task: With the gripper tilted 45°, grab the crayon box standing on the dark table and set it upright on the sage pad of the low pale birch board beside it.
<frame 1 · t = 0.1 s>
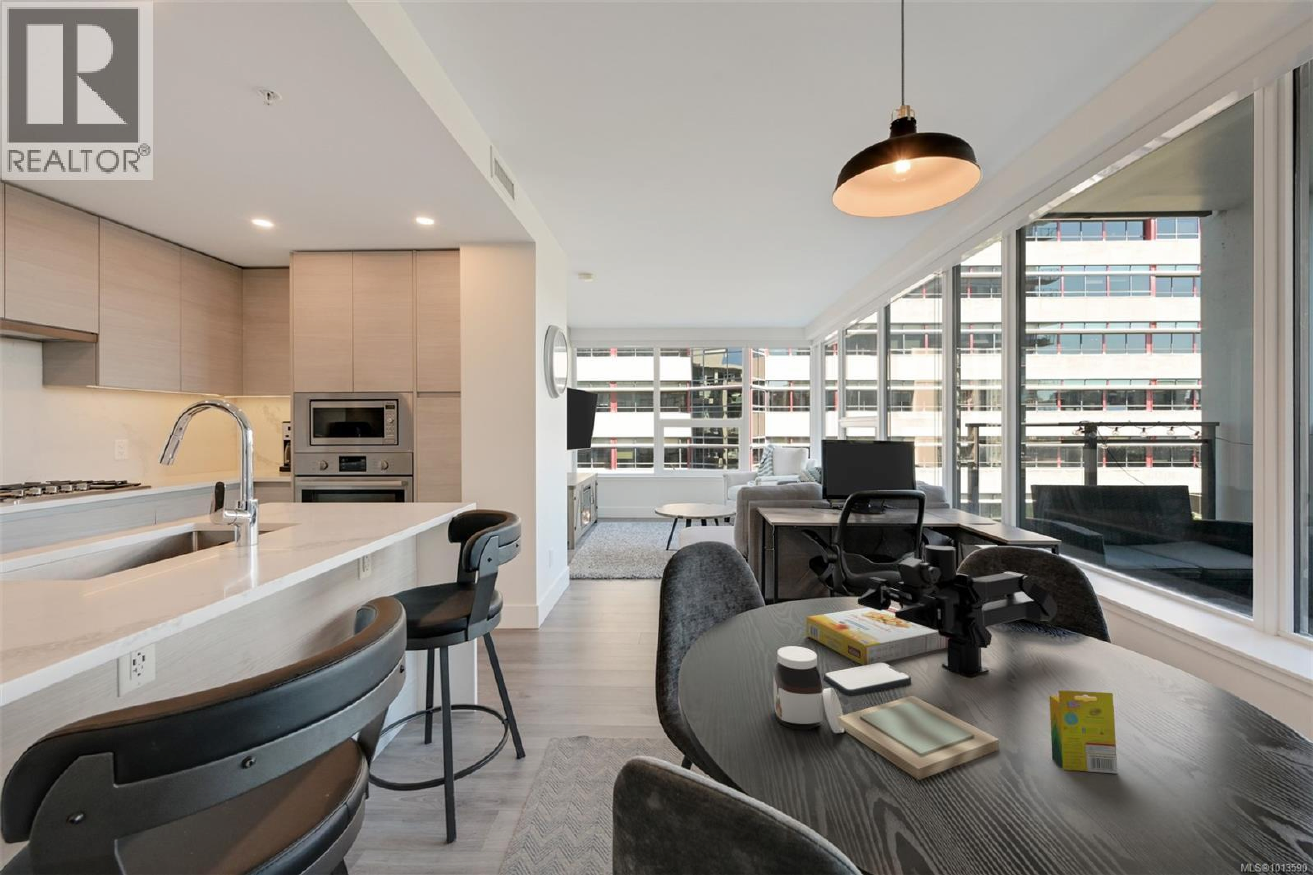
hand: (876, 607, 101), 17 cm above the table, tool horizontal, fingers open, 9 cm apart
crayon box: (1083, 768, 77), on the table
birch board: (915, 737, 85), on the table
phone case: (866, 683, 106), on the table
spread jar: (809, 723, 90), on the table, touching birch board
cereal box: (877, 643, 127), on the table
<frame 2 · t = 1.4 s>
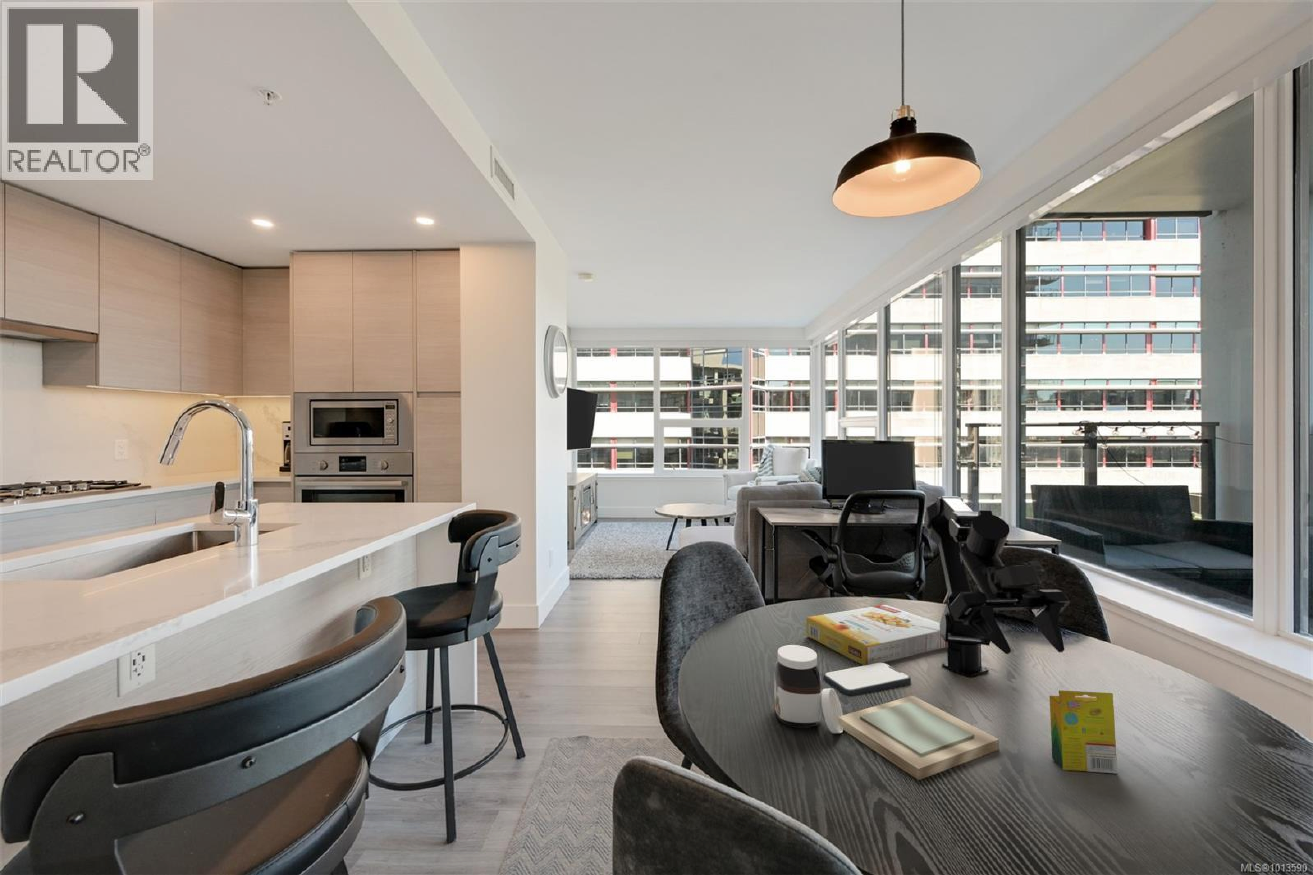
hand: (1035, 652, 85), 14 cm above the table, tool tilted 45°, fingers open, 9 cm apart
nothing on the table moved.
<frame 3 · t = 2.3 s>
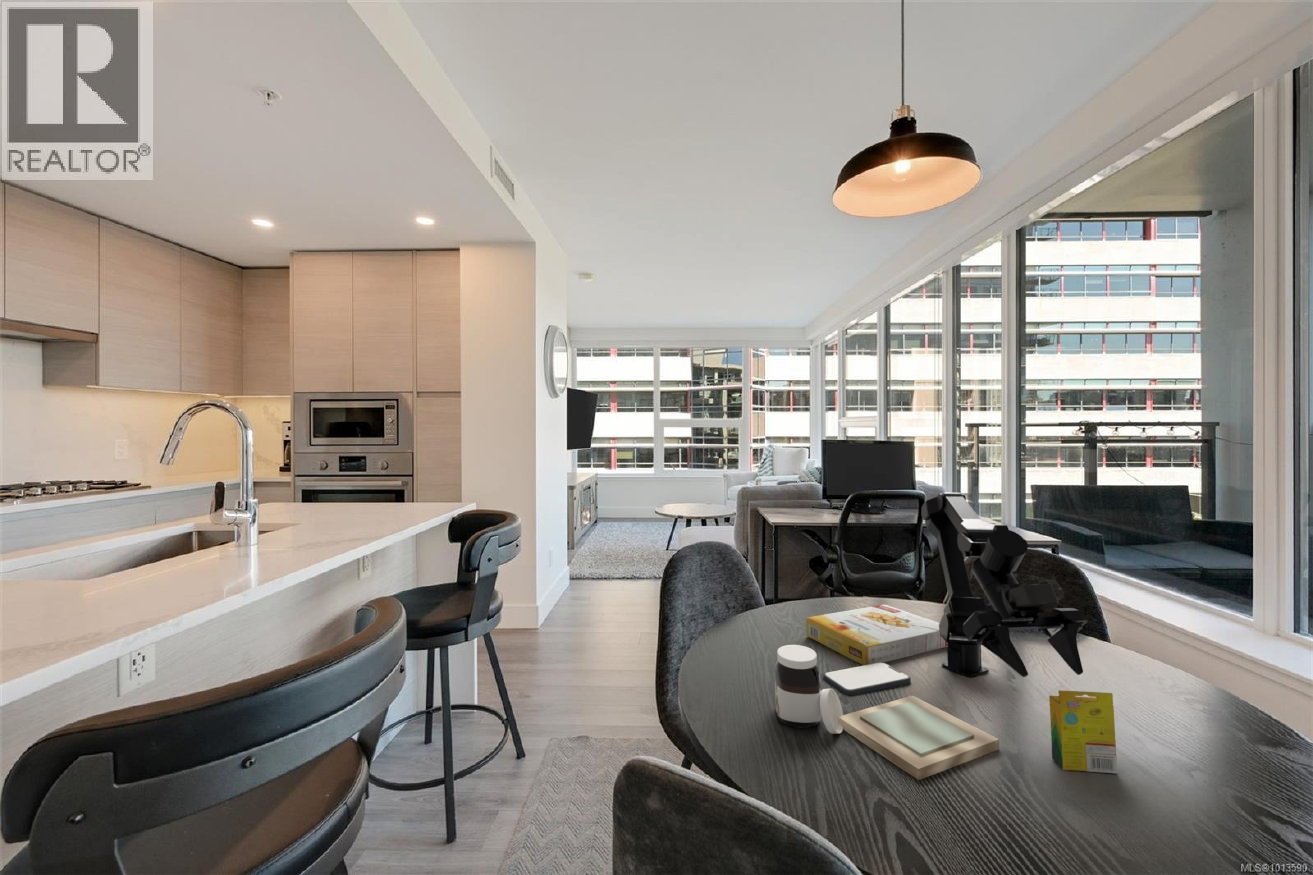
hand: (1053, 674, 82), 11 cm above the table, tool tilted 45°, fingers open, 9 cm apart
nothing on the table moved.
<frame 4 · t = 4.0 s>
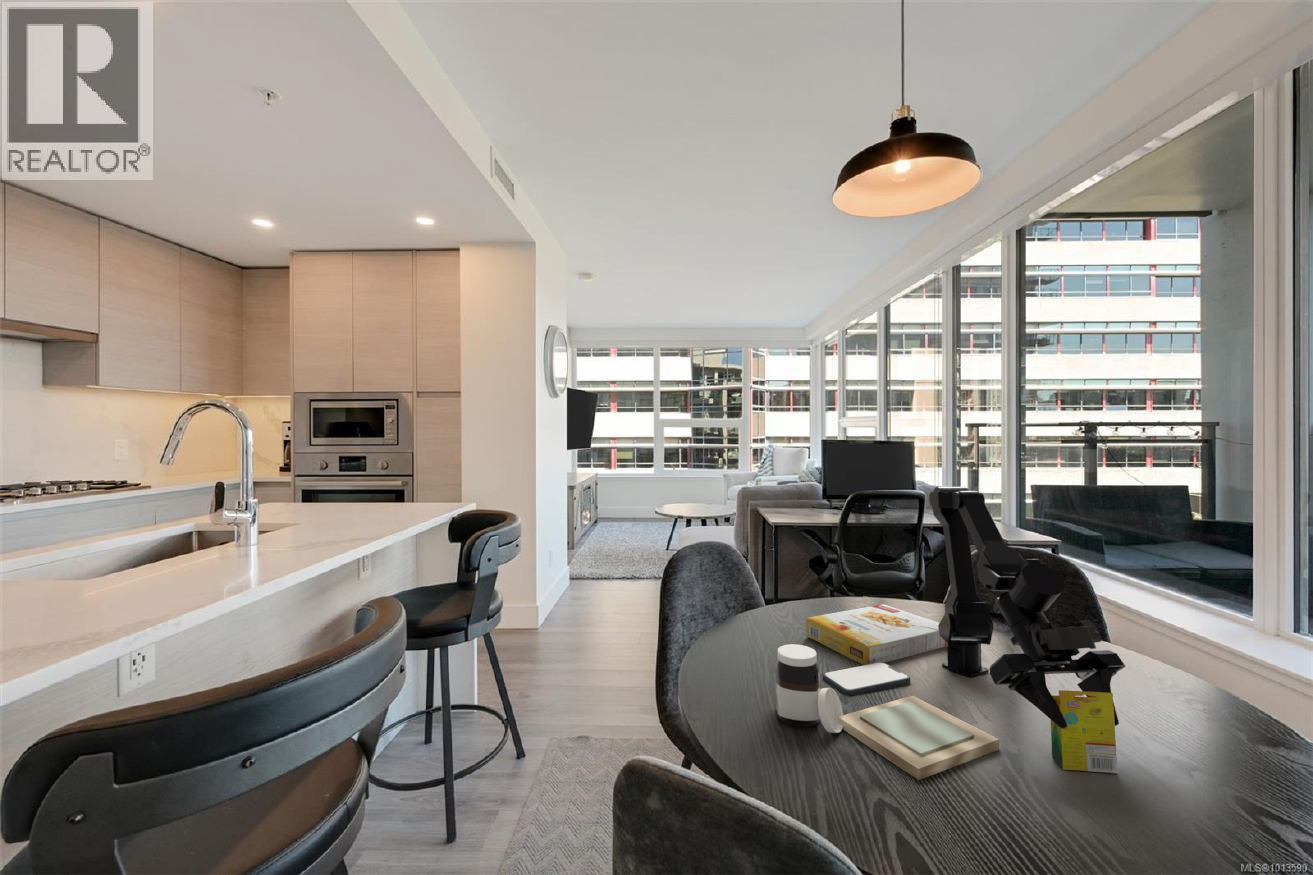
hand: (1090, 726, 76), 7 cm above the table, tool tilted 45°, fingers closed on crayon box, 8 cm apart
crayon box: (1083, 767, 77), on the table, touching gripper
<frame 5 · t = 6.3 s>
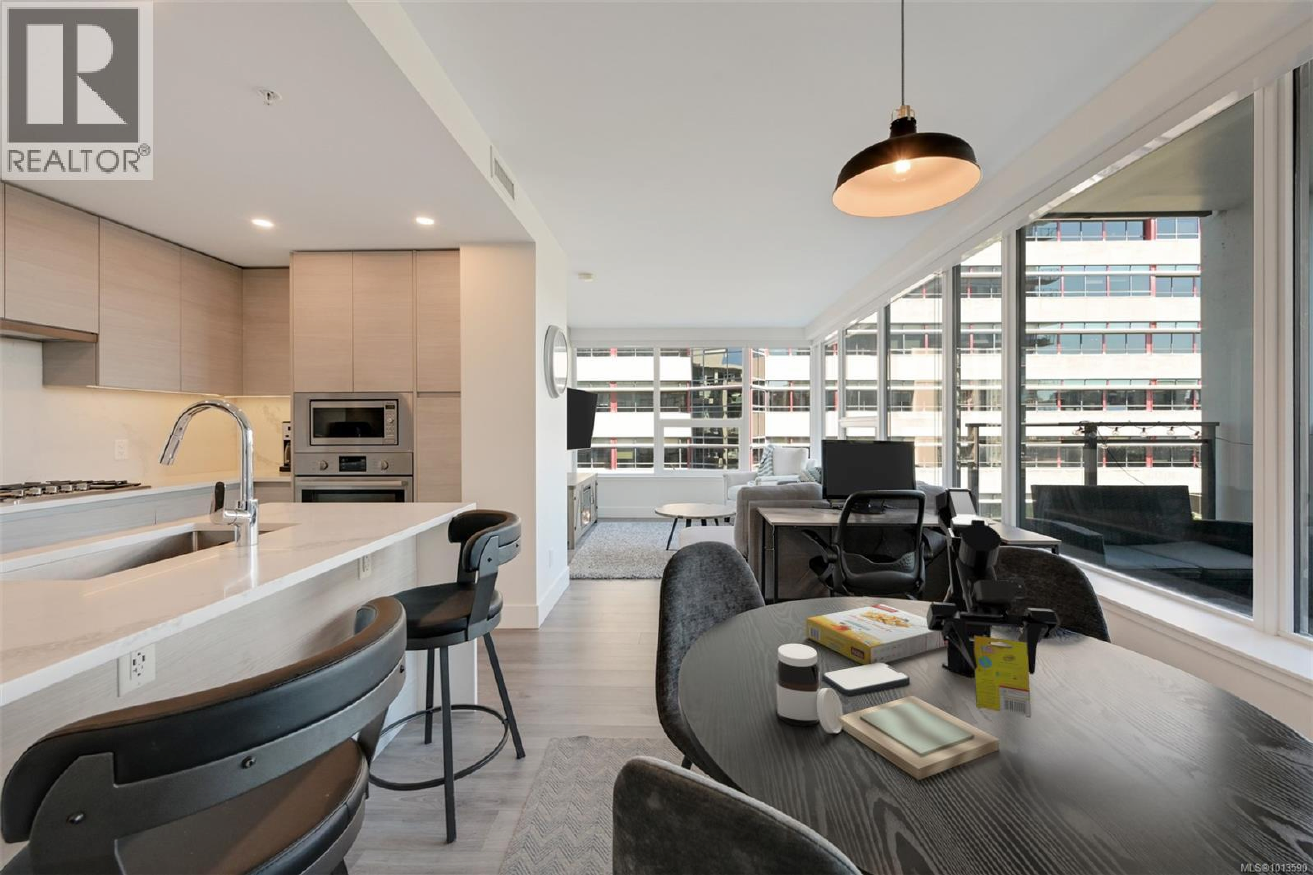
hand: (1003, 670, 82), 12 cm above the table, tool tilted 45°, fingers closed on crayon box, 8 cm apart
crayon box: (1002, 710, 83), point 5 cm above the table, touching gripper
when the fingers open (10 cm above the table, at t = 8.9 s): crayon box drops 1 cm, resting on birch board.
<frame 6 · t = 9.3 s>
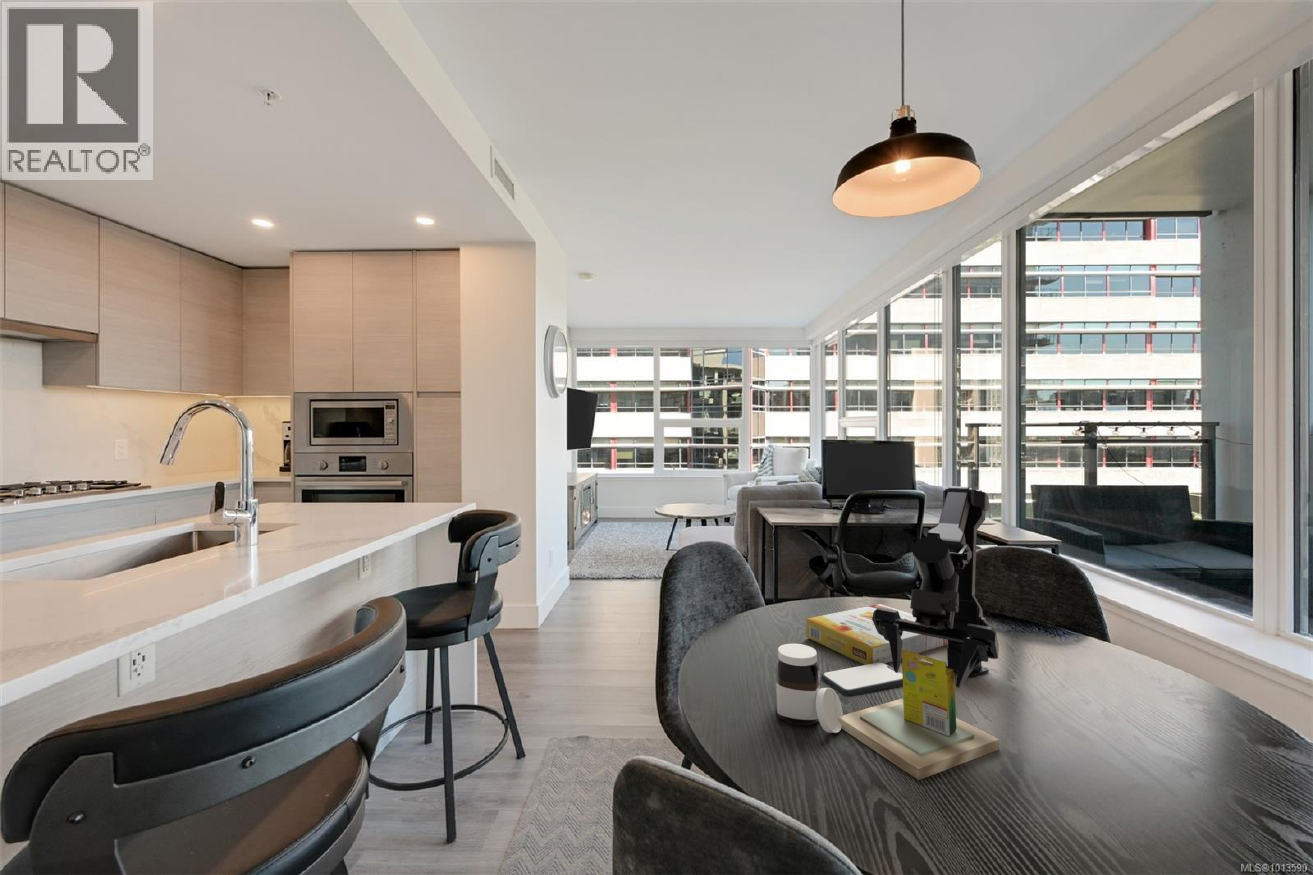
hand: (925, 679, 84), 10 cm above the table, tool tilted 45°, fingers open, 9 cm apart
crayon box: (929, 726, 85), point 2 cm above the table, touching birch board
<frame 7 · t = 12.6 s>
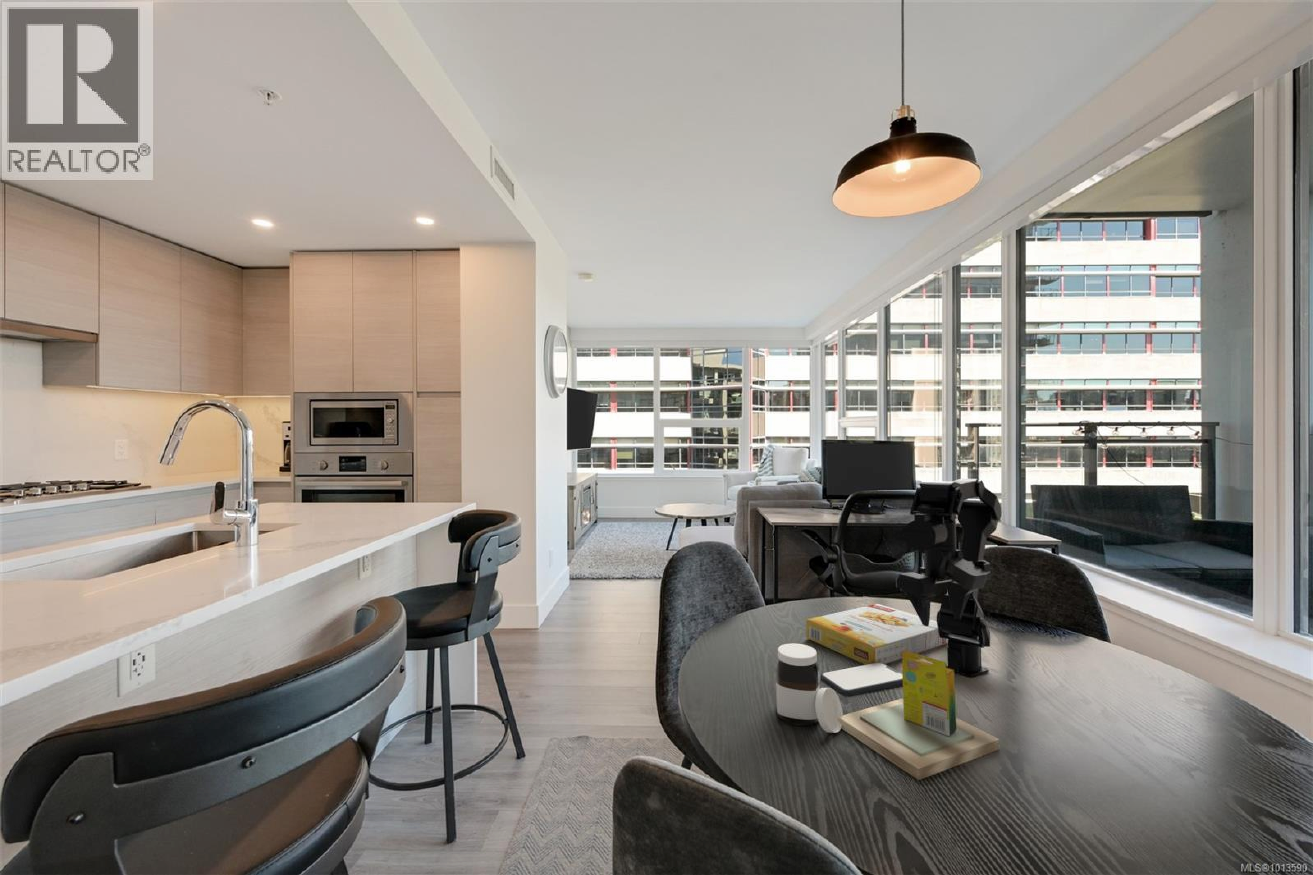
hand: (941, 622, 102), 13 cm above the table, tool pointing down, fingers open, 9 cm apart
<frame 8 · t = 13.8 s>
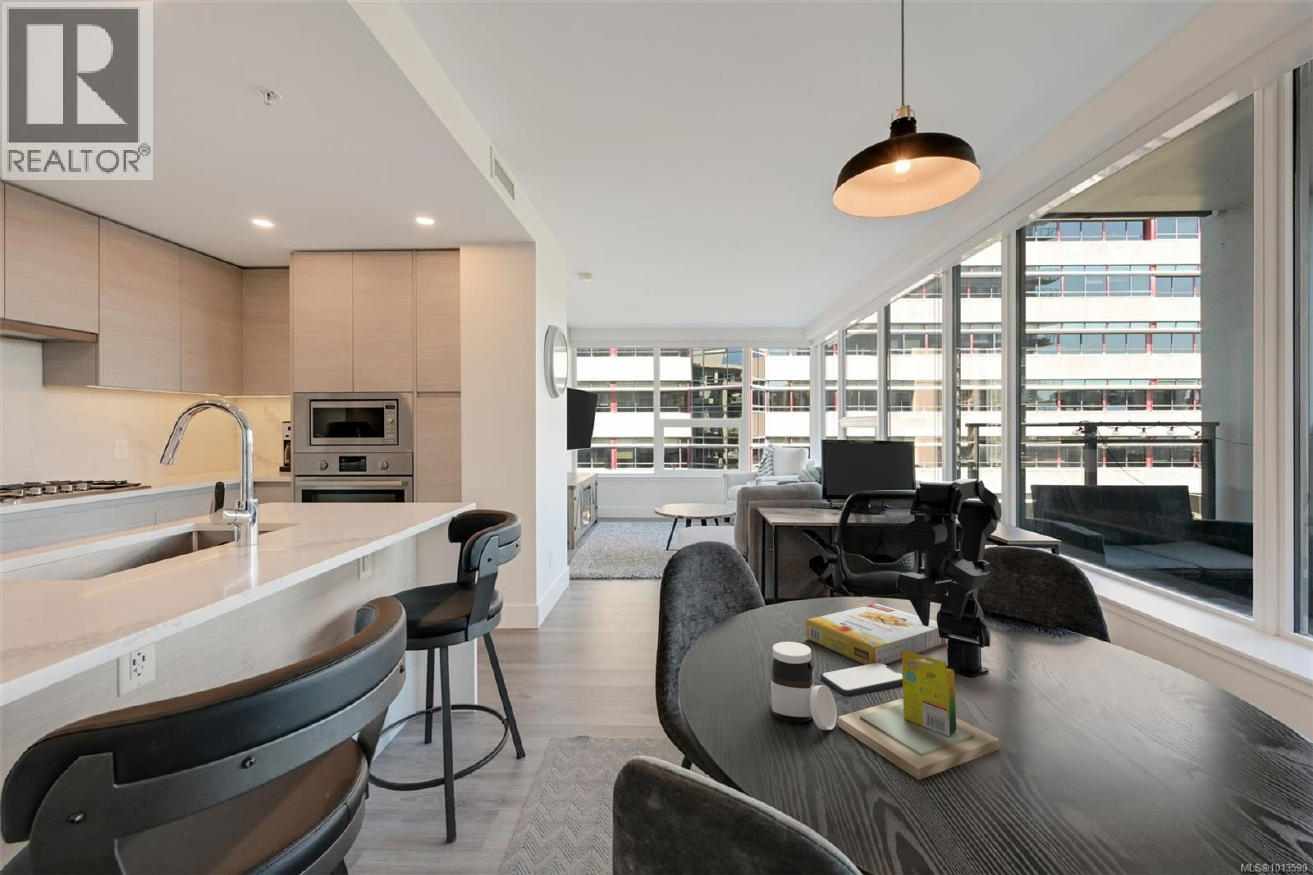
hand: (941, 622, 102), 13 cm above the table, tool pointing down, fingers open, 9 cm apart
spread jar: (803, 718, 92), on the table
everything else where it was.
at the end: crayon box inside the target area on the birch board (2.4 cm from its centre), point 1.8 cm above the birch board's base; crayon box tilted 0°; the gripper is holding nothing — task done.
